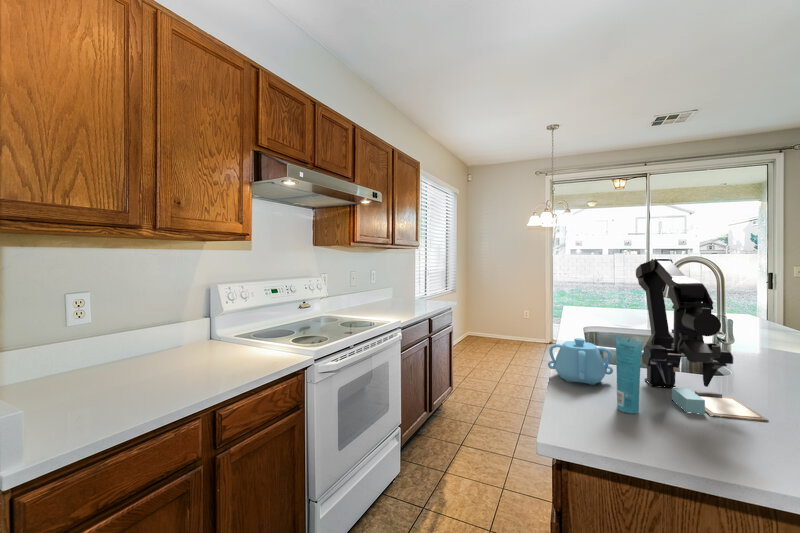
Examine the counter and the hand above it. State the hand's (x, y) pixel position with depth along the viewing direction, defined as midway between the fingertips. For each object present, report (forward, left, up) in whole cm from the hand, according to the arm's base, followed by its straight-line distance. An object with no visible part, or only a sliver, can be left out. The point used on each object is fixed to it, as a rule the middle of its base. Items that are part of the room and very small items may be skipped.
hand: (685, 384), depth 99 cm
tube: (-16, -7, -6) cm, 18 cm away
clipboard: (+9, +1, -6) cm, 11 cm away
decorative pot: (-23, +16, -6) cm, 29 cm away
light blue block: (0, 0, -6) cm, 6 cm away
